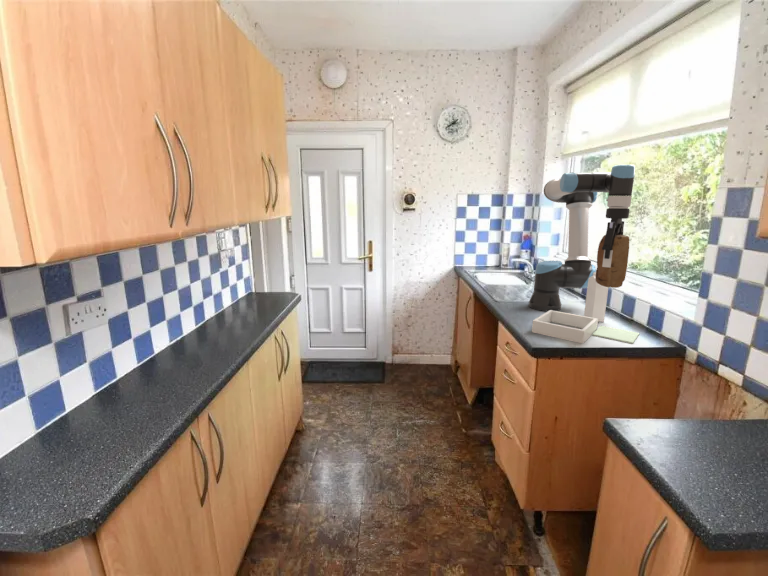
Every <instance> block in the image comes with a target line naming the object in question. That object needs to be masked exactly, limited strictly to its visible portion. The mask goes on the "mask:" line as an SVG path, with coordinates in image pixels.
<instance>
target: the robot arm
mask: <svg viewBox="0 0 768 576" xmlns="http://www.w3.org/2000/svg"><path fill="white" fill-rule="evenodd" d="M635 176H636V167H635V165H634V164H615V165H613V166H612V167H611V170H610V172H566V173H563V174H562V176H561V177H560V178H554V179H551V180H549V181H548V182H546V183H545V185H544V187H543V195H544V196H545V198H546V199H547V200H548V201H550V202H553V203H561V204H562V203H564V204H565V208H566V209H567V210H568V213H569V214H568V242H567V243H568V245H567V246H568V251H567V255H568V256H567V258H566V259H565V260H564V263H563V262H562V261H560V260H544V261H540V262H538V263H537V264H536V266H535V271H534V283H533V284H534V286H533V292H532V295H531V297H530V298H529V301H528V307H529V308H530V307H531V309H534V310H537V311H541V310H542V311H543V312H548V311H549V310H553V311H558V312H559V311H561V309H562V301H561V298H560V288H561V289H563V288H565V289H579V290H580V289H587V287H588V279H589V277H591V276H593V273H594V272H596V270H597V268H596V266H595V265H594V264H592V260H591V258H589V257H588V255H589V254H588V253H589V251H588V249H589V248H588V247H589V210H590V208H591V207H592V206H593V203H595V202H596V201H597V197H598V193H605V194H606V193H608V194H607V196H608V197H607V198H606V199H605V201H606V202H607V204H606V206H607V207H608V208H606V211H605V218H606V219H610V222H607V226H606V232H605V235H606V236H605V240H604V245H603V247H602V250H604V256H603V264H602V267H609V268H610V267H611V261H612V253H613V250H612V248H613V244H614V238H615V236H616V235H624V225H625V221H623V220H624V219H626V220H627V219H629V217H630V207H631V204H632V203H631V202H632V195H633V188H634V181H635Z"/></svg>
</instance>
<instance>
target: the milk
mask: <svg viewBox="0 0 768 576" xmlns="http://www.w3.org/2000/svg"><path fill="white" fill-rule="evenodd" d="M609 288H610V287H605V286H602V285H600V284H598V283H597V282H596V272H594V273H593V276H591V277H589V279H588V287H587V288H586V295H585V306H584V311H583V312H584V313H583V316H586V317H591V318H597V319H598V322H601V323H602V322H603V323H604V322H605V317H606V308H607V303H608V302H607V301H608V295H609Z"/></svg>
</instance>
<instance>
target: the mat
mask: <svg viewBox="0 0 768 576" xmlns="http://www.w3.org/2000/svg"><path fill="white" fill-rule="evenodd" d="M591 336H593V337H597V336H598V337H599V338H602V337H604V338H603V339H607V338H609V339H608V340H612V339H614V340H613V341H617V340H618V342H621V341H622V343H626V342H627V343H626V344H634V343H635V341H636V340H637V339H638V337H639V336H640V332H636V331H631V330H627V329H622V328H616V327H615V328H614V327H610V326H604V325H600V326H599V327H597V330H596V331H595V332H594V333H593V334H592V335H591Z"/></svg>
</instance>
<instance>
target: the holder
mask: <svg viewBox="0 0 768 576" xmlns="http://www.w3.org/2000/svg"><path fill="white" fill-rule="evenodd" d="M531 326H532V327H531V333H535V334H539V335H544V336H548V337H552V338H556V339H561V340H565V341H570V342H575V343H578V344H584V343H585V342H586V341H587V340H588V339H589V338H590V337H591V336H593V335H592V334H593V333H594V332H595V331H596V330H597V329H598V319H597V318H591V317H586V316H584V315H579V314H573V313H568V312H562V311H559V310H558V311H553V310H549V311H545V312H544V313H543V314H541V315H540V316H538V317H536V318H534V319H533V320H532V325H531ZM580 328H581V329H580Z"/></svg>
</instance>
